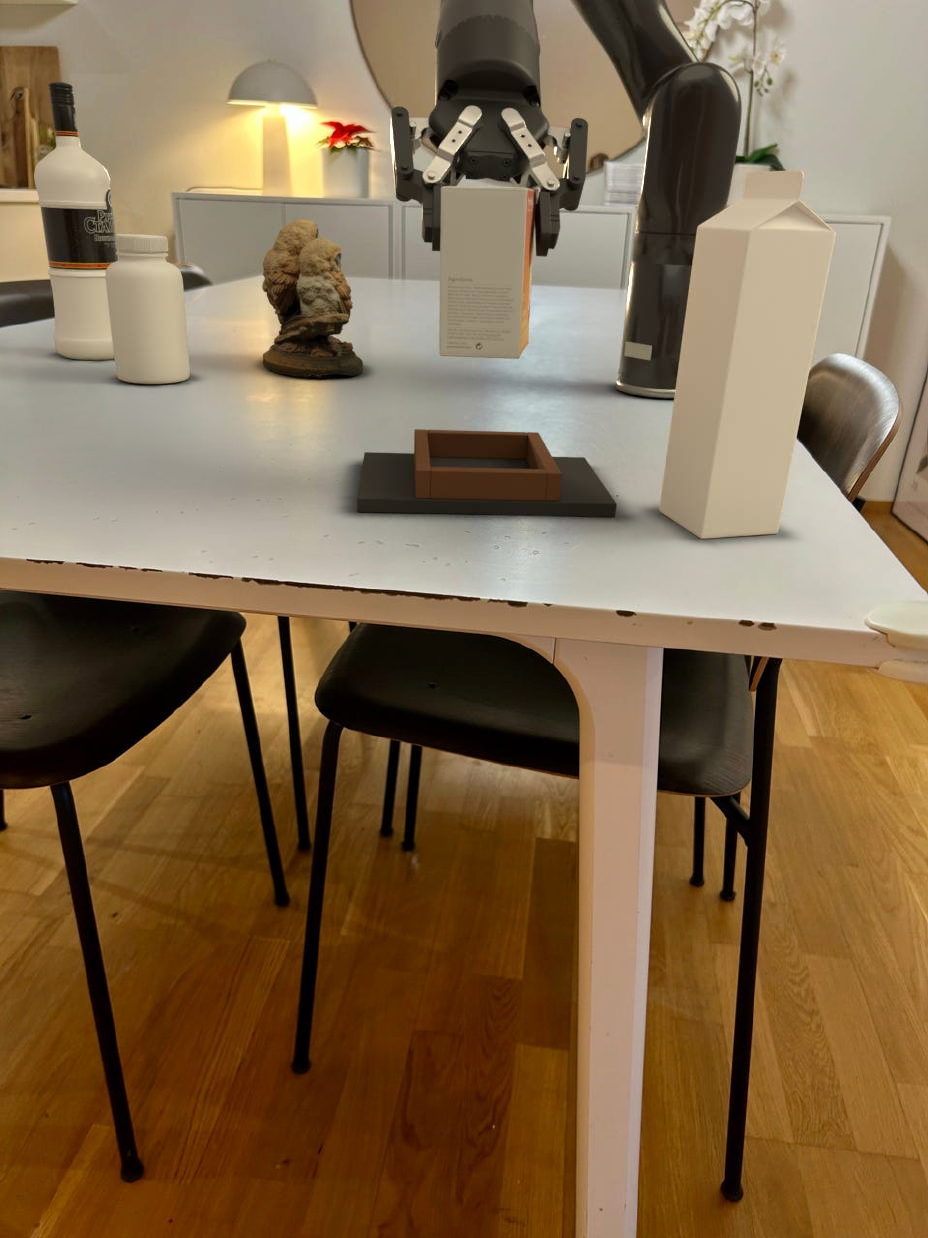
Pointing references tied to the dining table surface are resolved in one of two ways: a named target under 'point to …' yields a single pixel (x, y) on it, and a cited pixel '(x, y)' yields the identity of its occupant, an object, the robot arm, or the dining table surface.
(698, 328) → the milk
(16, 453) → the dining table surface
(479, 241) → the small box
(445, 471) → the dock pad
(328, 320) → the owl figurine
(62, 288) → the vodka
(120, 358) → the pill bottle
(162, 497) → the dining table surface
